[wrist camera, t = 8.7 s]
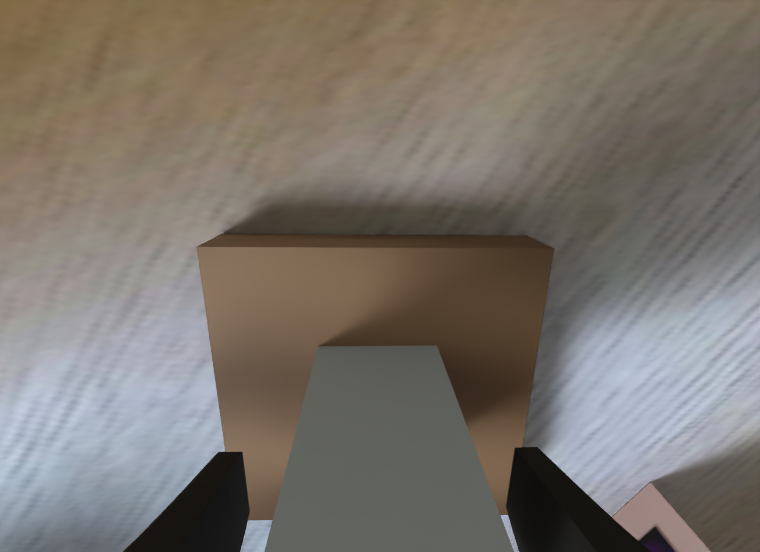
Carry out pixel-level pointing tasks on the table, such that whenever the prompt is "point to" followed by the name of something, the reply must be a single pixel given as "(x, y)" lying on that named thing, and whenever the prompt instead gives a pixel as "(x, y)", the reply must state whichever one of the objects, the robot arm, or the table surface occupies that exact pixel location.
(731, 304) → the table surface
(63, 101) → the table surface
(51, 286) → the table surface
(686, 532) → the greeting card
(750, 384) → the table surface
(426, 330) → the walnut base
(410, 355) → the slate block
